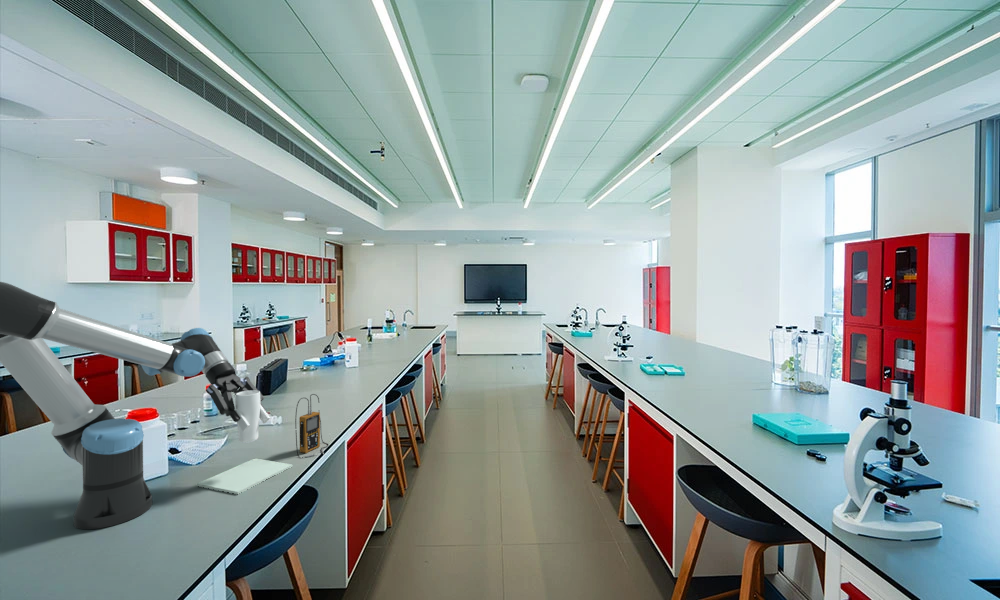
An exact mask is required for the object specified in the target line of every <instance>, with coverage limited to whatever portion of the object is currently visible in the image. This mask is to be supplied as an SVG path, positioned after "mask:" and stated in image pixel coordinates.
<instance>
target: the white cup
mask: <svg viewBox="0 0 1000 600" xmlns="http://www.w3.org/2000/svg"><path fill="white" fill-rule="evenodd" d="M257 390H258V389H257ZM257 390H250V391H242V392H239V393H235V397H234V400H235V402H234V406H235V410H236V409H239V410H240V412H241V413H242V414H243V416H244V417H245V419H246V420H247V421H248V423H249V424H250V425H249V427H248V428H247V429H246V430H245V431H243V430H242V429H241V428H240V426H239V425H238V423H237V422H236V423H237V432H238V433H237V435H238V442H239V443H244V444H246V443H247V444H248V443H252V442H255V441H256V440H258V439H259V428H260V427H259V425H260V418H259V417H260V403H262V402H261V400H260V393H261V391H260V390H258V391H257Z"/></svg>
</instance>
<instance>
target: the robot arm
mask: <svg viewBox="0 0 1000 600" xmlns="http://www.w3.org/2000/svg"><path fill="white" fill-rule="evenodd" d="M46 341H50V342H55V343H58V344H62V345H66V346H69V347H73V348H77V349H81V350H84V351H89V352H92V353H95V354H100V355H104V356H107V357H111V358H115V359H118V360H122V361H127V362H130V363H134V364H138V365H140V366H141V368H142V370H143V372H144V373H145V374H146V375H148V376H152V377H153V376H155V375H161V374H162V373H165V372H166V373H171V374H174V375H178V376H180V377H185V378H186V377H194V376H197V375H198V374H200V372H202V373H203V375H204V376H205V378H206V379H207V381H208V383H210V384H209V386H208V387H207V388H206V389H205V392H206V393H207V394H208V395H209V396H210V398H211V400H212V401H213V403H214V405H215V407H216V408H217V411H218V412H219V414H220V415H222V416H223V415H225V416H226V417H230V418H231V419H232V421H233V422H234V423H238V425H239V426H240V428H241V429H242V430H243V431H245V430H246V429H247V428H248V427H249V425H250V424H249V423H248V421H247V420H246V419H245V417H244V416H243V414H242V413H241V412H240V410H239V409H236V407H235V402H234V399H233V395H232V393H234V394H236V393H239V392H242V391H250V390H257V391H259V390H258V388H257V386H255V385H254V384H253V382H251V380H250V377H249V376H245V377H244V378H243V377H239V376H238V375H237V373H236V370H235V368H234V367H233V365H232V364H231V362H229V360H228V358H227V357H226V356H225V354H224V353H223V352H222V350H221V349H220V348H219V346H218V344H217V343H216V341H215V340H214V339H213V337H212V336H211V335H210V334H209V332H207V330H206V329H204V328H202V327H194V328H191V329H189V330H188V331H185V332H184V333H183V334H181V336H180V340H179V341H176V342H173V343H170V342H167V341H164V340H160V339H157V338H154V337H151V336H147V335H144V334H142V333H139V332H135V331H134V330H133V331H132V330H129V329H126V328H123V327H119V326H117V325H113V324H111V323H107V322H103V321H101V320H97V319H94V318H91V317H88V316H86V315H81V314H79V313H76V312H72V311H69V310H66V309H63V308H60V306H59V305H58V303H57V302H55V301H52V300H49V299H47V298H44V297H41V296H39V295H36V294H33V293H31V292H29V291H27V290H25V289H22V288H20V287H19V286H16V285H14V284H13V285H12V284H10V283H8V282H4V281H0V363H1V365H2V366H3V367H4V368H5V369H6V370H7V372H8V373H9V375H11V376H12V377H13V378H14V380H15V381H16V382H17V383H18V384H19V385H20V386H21V388H22V389H23V390H24V391H25V393H26V394H27V395H28V396H29V397H30V398H31V400H32V401H33V402H34V403H35V404H36V405H37V407H38V408H39V409H40V411H41V412H42V413H44V415H45V416H46V417H47V418H48V420H49V421H50V422H51V423H52V424H53V427H52V429H51V432H50V434H51V435H52V436H53V438H54V439H55V440H56V441H57V443H59V445H60V446H61V448H62V451H63V453H65V455H67V456H68V457H69V458H70V459H72V460H74V461H76V462H78V463H79V464H80V465H81V467H82V493H81V496H80V498H79V501H78V503H77V506H76V508H75V511H74V514H73V526H74V528H76V529H81V530H95V529H103V528H109V527H111V526H116V525H119V524H123V523H125V522H128V521H130V520H134V519H135V518H137V517H139V516H141V515H143V514H145V513H147V511H148V510H150V509H151V508H152V506H153V496H152V493H151V491H150V489H149V487H148V486H149V485H148V484H147V483H146V480H145V478H144V436H145V435H144V430H143V426H142V423H141V422H139V421H138V420H136V419H132V418H127V419H126V418H115V417H114V416H113V414H112V413H111V412H110V411H109V409H107V407H106V406H105V405H104V404H95V403H94V402H93V401H92V399H90V397H89V396H88V395H87V394H86V392H85V391H84V389H83V388H82V387H81V385H80V384H79V383H78V381H76V380H75V378H74V376H72V375H71V373H70V371H68V370H67V367H65V365H64V364H63V363H62V362H61V360H60V359H59V357H58V356H57V355H56V354H55V353H54V351H53V350H52V349H51V348H50V346H49V345H48V343H46ZM260 400H261V403H260V417H259V420H260V421H261V422H262V423H263V424H266V423H267V422H268V421H269V420H270V419H271V417H270V415H269V414H268V413H267V411H266V407H265V406H264V405H263V403H262V402H263V401H264V400H265V396H264V395H263V394H262V392H260ZM238 425H237V426H238Z"/></svg>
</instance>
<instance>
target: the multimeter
mask: <svg viewBox="0 0 1000 600" xmlns="http://www.w3.org/2000/svg"><path fill="white" fill-rule="evenodd" d="M313 395H314V396H316V397H317V400H318V402H320V398H319V395H317V393H316V394H315V393H312V394H310V396H309V399H308V398H307V397H301V398H300V399H299V400H298V401H297V404H296V408H295V415H297V413H298V405H299V403H300V401H301V400H303V399H305V400H307V404H308V406H307V413H306V414H303V415H300V416H299V420H298V421H299V424H298V425H299V449H298V440H297V439H298V438H297V437H298V436H297V433H298V432H297V431H295V442H296V443H295V445H296V455H297V457H298V458H299V457H300V455H299V453H305V454H308V453H309V452H311V451H314V450H315V449H318V448H320V446H321V442H322V443H323V444H326V446H323V447H321V448H320V450H321V453H322V455H325V452H324V450H323V449H324V448H327V447H328V446H329V443H327V442H324V440H323V438H322V437H323V435H322V434H321V429H322V420H321V413H320V411H312V397H311V396H313ZM294 418H295V428H297V417H294ZM320 438H321V439H320ZM320 440H321V441H320ZM298 450H299V451H298ZM317 455H319V453H316V454H315V453H313V454H309V455H306V456H305V458H311V457H315V456H317ZM303 457H304V456H303ZM303 457H302V458H301V459H303Z"/></svg>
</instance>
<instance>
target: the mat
mask: <svg viewBox="0 0 1000 600" xmlns="http://www.w3.org/2000/svg"><path fill="white" fill-rule="evenodd" d="M291 467H292V468H293V464H290V463H285V462H280V461H279V462H278V461H274V460H268V459H261V458H253V459H250V460H248V461H245V462H243V463H241V464H239V465H237V466H234V467H232V468H230V469H227V470H225V471H223V472H220V473H218V474H216V475H214V476H211V477H209V478H207V479H205V480H202V481H200V482H197V484H196V487H198V486H199V487H200V488H203V487H204V489H208V488H209V490H213V489H214V491H218V490H219V491H218V492H222V491H224V492H223V493H227V492H229V493H228V494H232V493H234V494H233V495H237V494H238V495H240V494H242V493H245V492H246V491H248V490H250V489H252V488H254V487H255V485H256V486H258V485H259V483H260V484H262V483H263V482H262V481H264V482H265V480H266V479H268V478H270V477H272V476H274V475H276V476H278V475H280V474H282V473H283V471H284V470H286V469H288V468H290V469H291ZM288 470H289V469H288ZM286 471H287V470H286ZM281 472H282V473H281ZM284 472H285V471H284ZM279 473H280V474H279ZM277 474H278V475H277ZM274 477H275V476H274ZM272 478H273V477H272ZM270 479H271V478H270ZM268 480H269V479H268ZM266 481H267V480H266ZM261 482H262V483H261ZM257 484H258V485H257ZM253 486H254V487H253ZM251 487H252V488H251ZM247 489H248V490H247ZM241 492H242V493H241ZM239 493H240V494H239Z"/></svg>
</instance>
